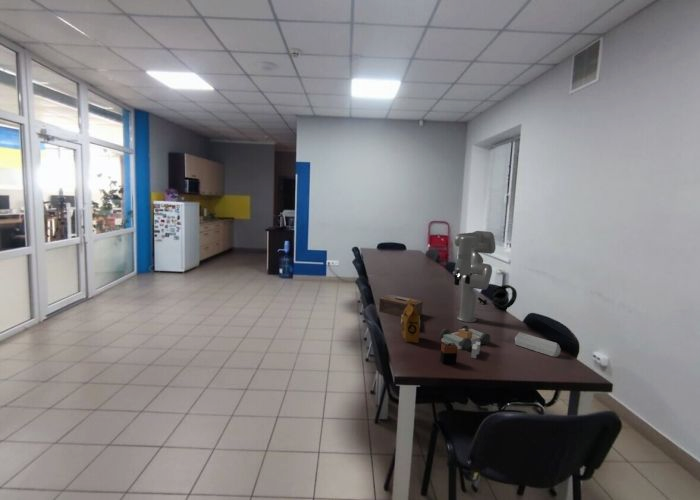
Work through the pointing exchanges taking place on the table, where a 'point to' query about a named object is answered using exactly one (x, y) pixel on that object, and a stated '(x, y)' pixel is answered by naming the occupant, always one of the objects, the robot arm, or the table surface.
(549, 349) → the crystal
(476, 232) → the robot arm
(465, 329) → the box with black knob
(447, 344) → the battery
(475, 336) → the chassis
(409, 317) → the coffee package
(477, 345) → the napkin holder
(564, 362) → the table surface
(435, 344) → the table surface
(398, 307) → the tissue box cover
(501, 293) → the headset
